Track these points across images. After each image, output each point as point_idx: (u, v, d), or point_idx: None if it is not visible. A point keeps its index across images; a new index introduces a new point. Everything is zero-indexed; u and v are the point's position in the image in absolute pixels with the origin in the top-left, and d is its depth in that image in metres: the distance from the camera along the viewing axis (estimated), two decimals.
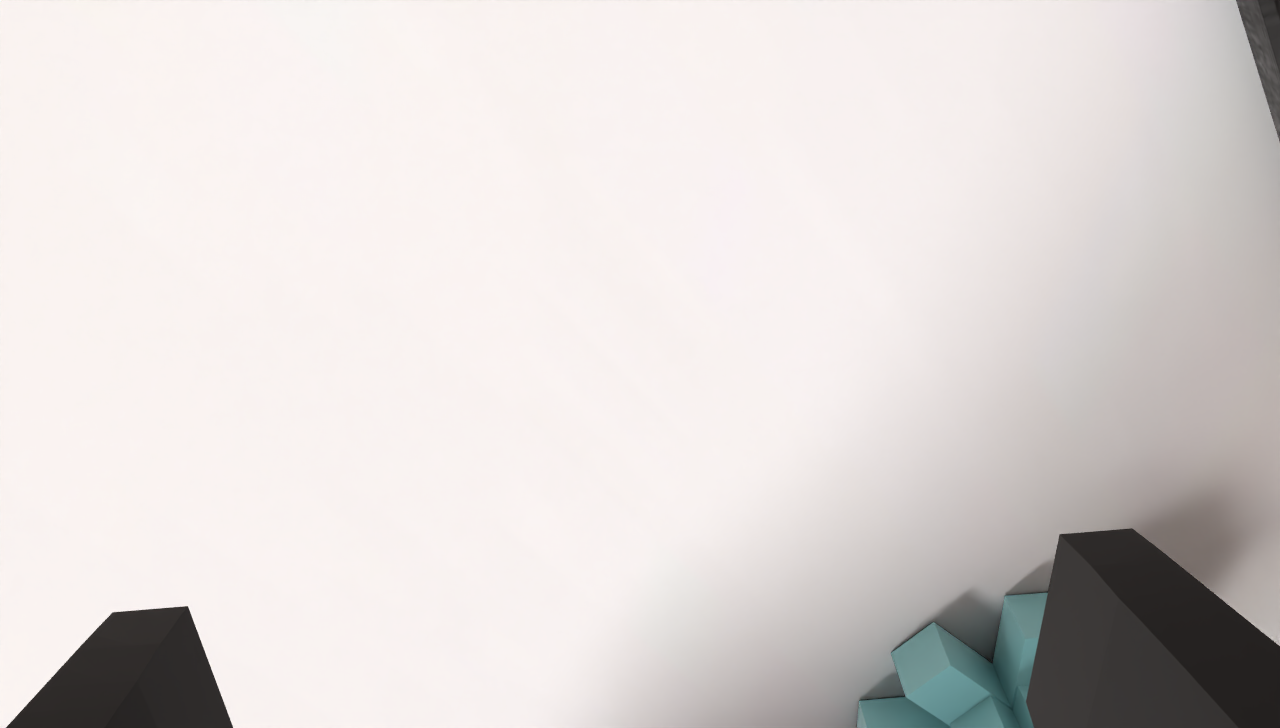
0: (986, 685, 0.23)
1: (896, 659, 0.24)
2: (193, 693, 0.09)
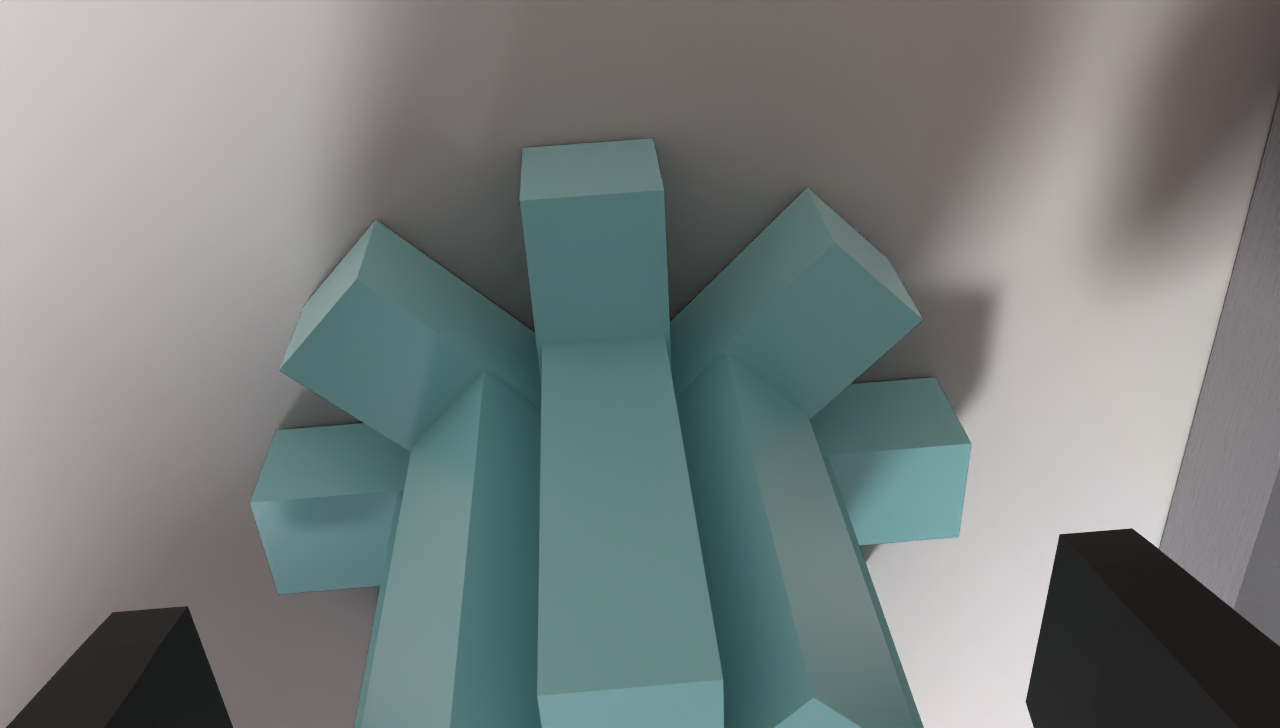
0: (478, 349, 0.10)
1: (303, 312, 0.11)
2: (193, 693, 0.09)
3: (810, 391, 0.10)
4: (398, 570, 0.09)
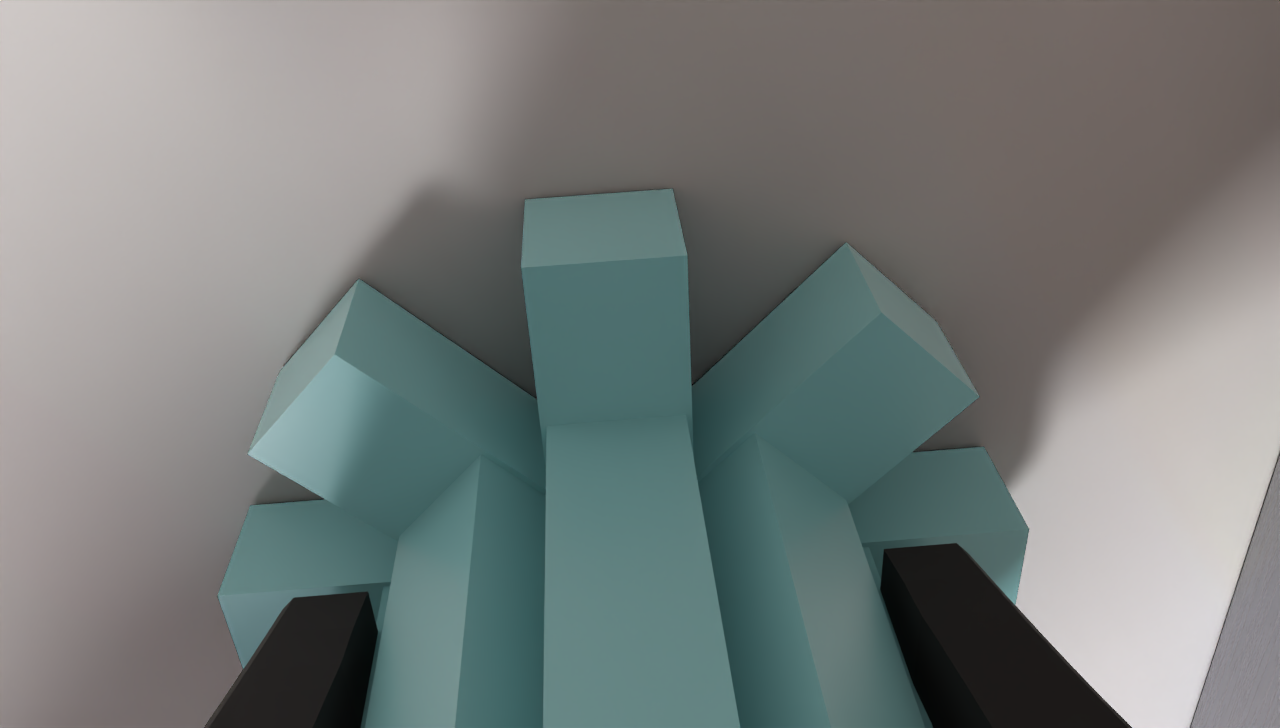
0: (474, 430, 0.09)
1: (277, 381, 0.09)
2: None
3: (850, 475, 0.09)
4: (380, 697, 0.08)
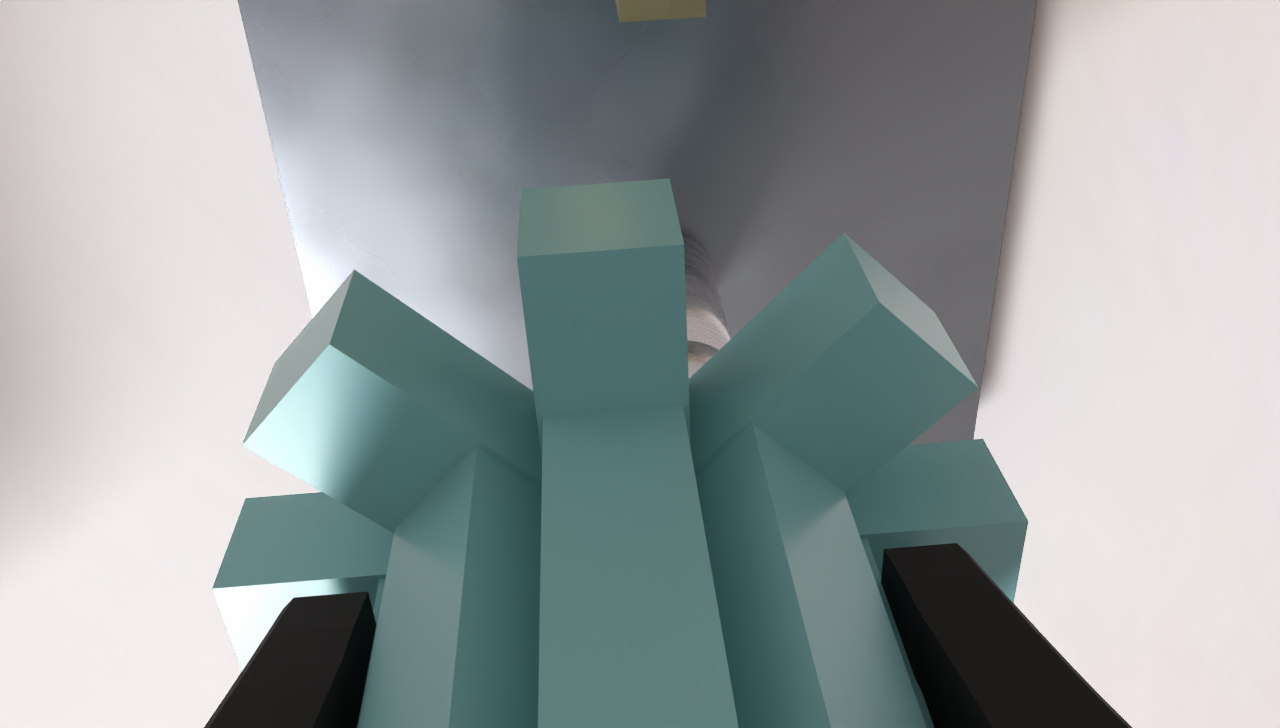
0: (469, 420, 0.09)
1: (273, 373, 0.09)
2: None
3: (848, 467, 0.09)
4: (375, 689, 0.08)
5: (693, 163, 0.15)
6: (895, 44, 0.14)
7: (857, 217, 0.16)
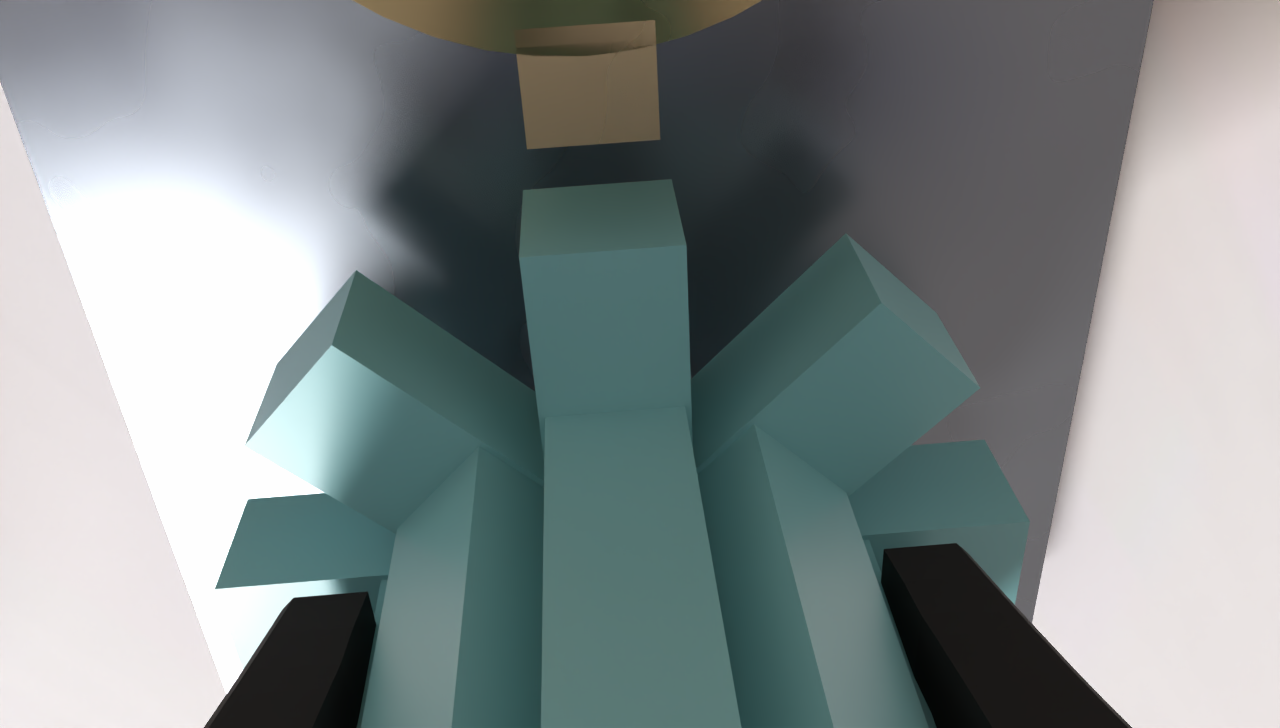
0: (472, 420, 0.09)
1: (273, 374, 0.09)
2: None
3: (850, 467, 0.09)
4: (377, 689, 0.08)
5: None
6: (937, 142, 0.10)
7: None
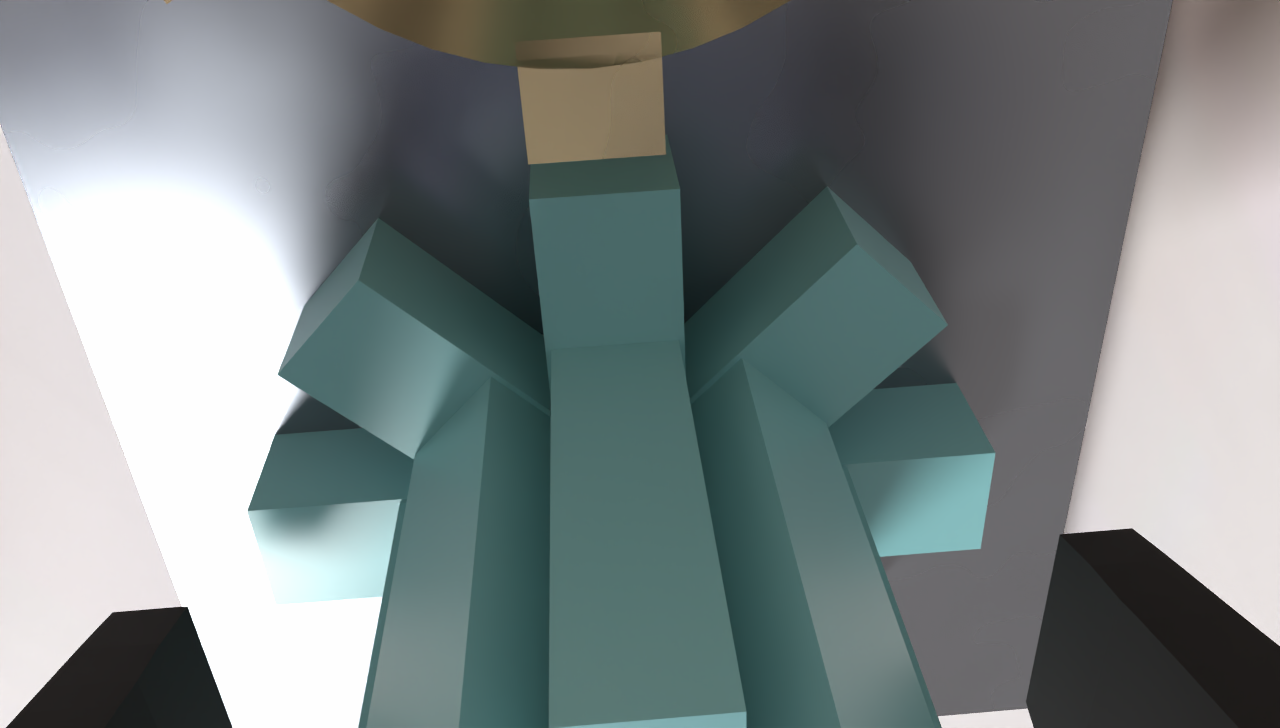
0: (484, 354, 0.10)
1: (302, 314, 0.10)
2: (193, 695, 0.09)
3: (831, 399, 0.10)
4: (401, 585, 0.08)
5: None
6: (949, 153, 0.10)
7: (892, 379, 0.11)
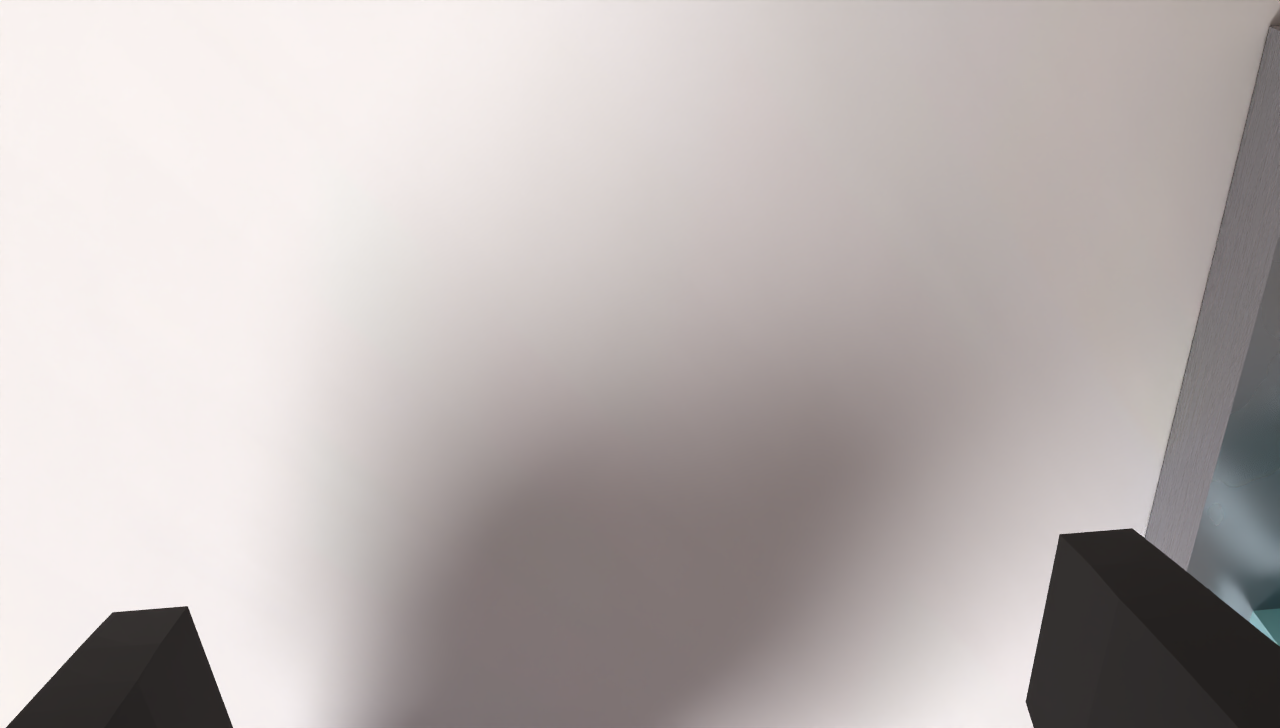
0: None
1: None
2: (192, 693, 0.09)
3: None
4: None
5: None
6: None
7: None
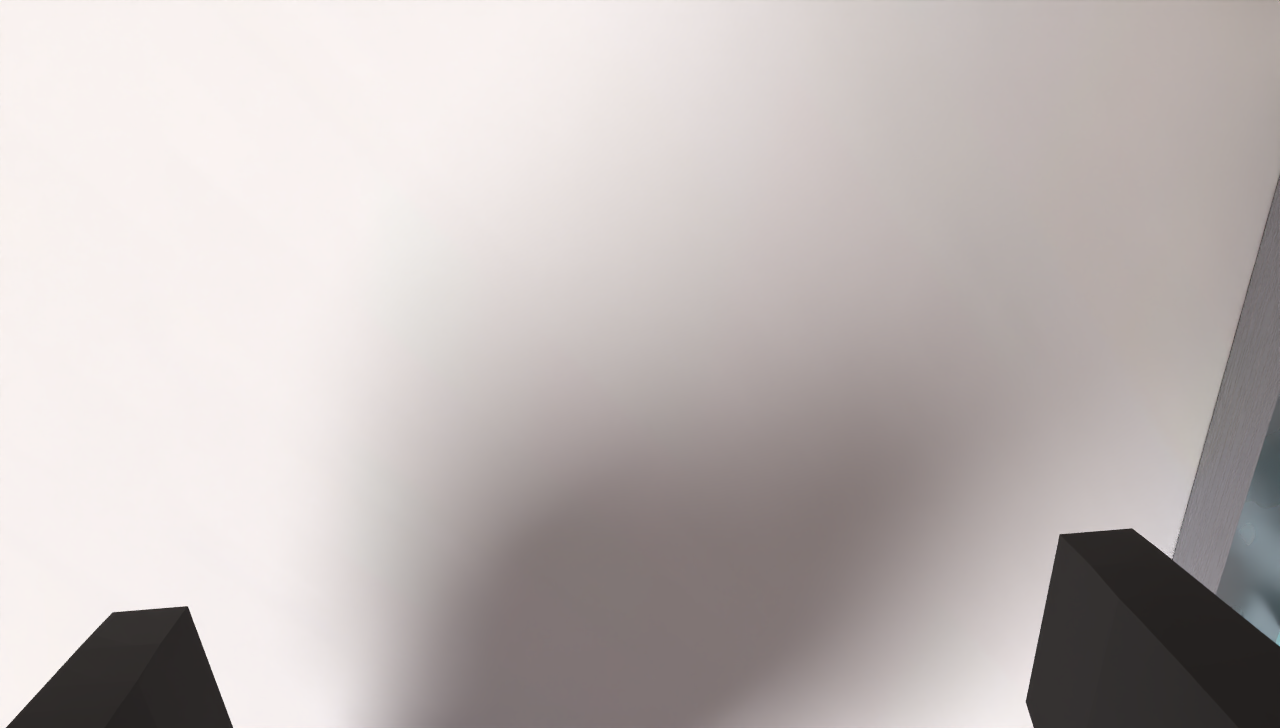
0: None
1: None
2: (191, 694, 0.09)
3: None
4: None
5: None
6: None
7: None
